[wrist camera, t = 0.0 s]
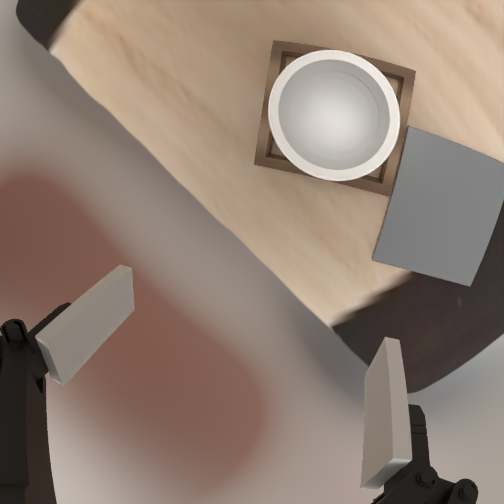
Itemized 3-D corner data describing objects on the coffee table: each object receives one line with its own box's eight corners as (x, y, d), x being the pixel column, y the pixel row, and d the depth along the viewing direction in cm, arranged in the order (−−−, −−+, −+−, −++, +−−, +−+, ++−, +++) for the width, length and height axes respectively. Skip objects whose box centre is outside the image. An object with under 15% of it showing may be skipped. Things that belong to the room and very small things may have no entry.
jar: (385, 149, 35) (412, 169, 22) (305, 164, 38) (287, 192, 25) (364, 66, 31) (379, 38, 18) (282, 84, 35) (250, 67, 22)
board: (407, 126, 33) (408, 126, 32) (509, 166, 30) (512, 167, 29) (371, 257, 41) (372, 260, 40) (467, 283, 38) (469, 286, 38)
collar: (278, 45, 33) (273, 40, 30) (410, 74, 30) (415, 71, 27) (259, 160, 40) (254, 164, 37) (385, 190, 37) (389, 196, 34)
